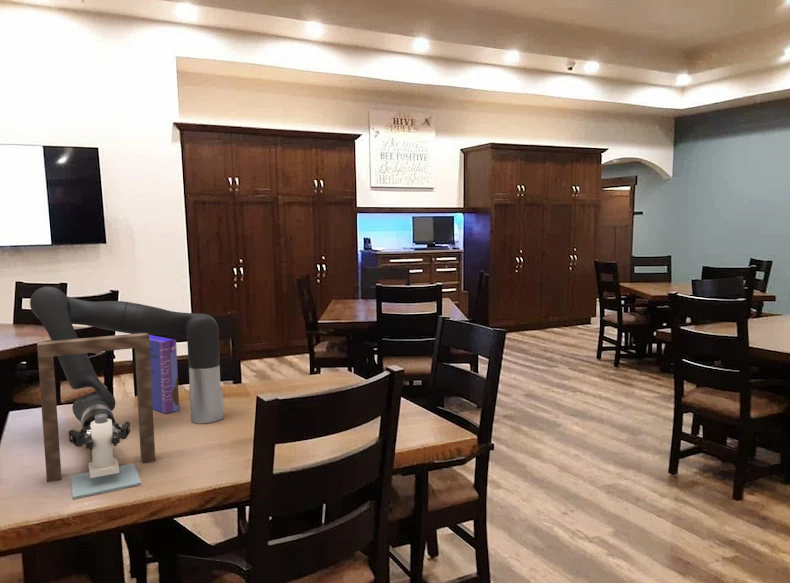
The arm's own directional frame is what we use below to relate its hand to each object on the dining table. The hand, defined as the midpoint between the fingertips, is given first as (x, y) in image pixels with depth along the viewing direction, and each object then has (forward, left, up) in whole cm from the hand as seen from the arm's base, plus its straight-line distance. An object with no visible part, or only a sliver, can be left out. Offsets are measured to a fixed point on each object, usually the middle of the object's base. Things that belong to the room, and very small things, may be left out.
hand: (103, 443), depth 132 cm
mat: (0, -3, -10) cm, 11 cm away
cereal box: (-20, -58, -10) cm, 62 cm away
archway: (0, -12, -10) cm, 15 cm away
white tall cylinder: (0, -3, -7) cm, 8 cm away
